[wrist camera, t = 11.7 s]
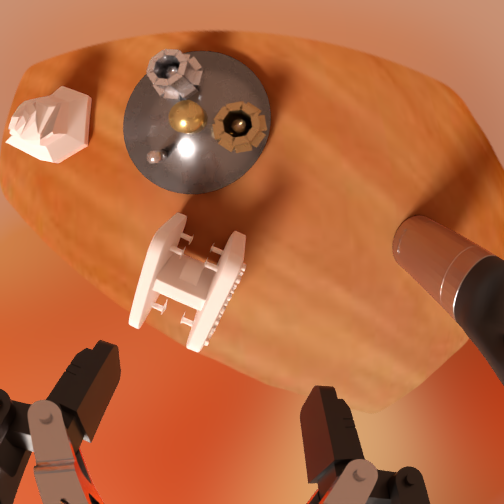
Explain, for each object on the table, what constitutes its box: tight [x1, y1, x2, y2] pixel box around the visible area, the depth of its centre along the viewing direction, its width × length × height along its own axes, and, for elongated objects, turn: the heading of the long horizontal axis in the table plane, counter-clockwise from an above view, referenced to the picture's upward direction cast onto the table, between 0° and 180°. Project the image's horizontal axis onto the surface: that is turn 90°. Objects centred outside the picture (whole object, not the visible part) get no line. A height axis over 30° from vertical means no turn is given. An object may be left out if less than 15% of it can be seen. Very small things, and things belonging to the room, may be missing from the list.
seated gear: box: [212, 101, 267, 153], centre depth 30 cm, size 6×6×6 cm
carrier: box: [123, 51, 271, 194], centre depth 31 cm, size 20×20×6 cm
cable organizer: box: [129, 212, 246, 352], centre depth 35 cm, size 15×11×12 cm
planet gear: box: [146, 49, 205, 101], centre depth 27 cm, size 6×6×6 cm
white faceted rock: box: [6, 86, 92, 163], centre depth 27 cm, size 12×15×14 cm
